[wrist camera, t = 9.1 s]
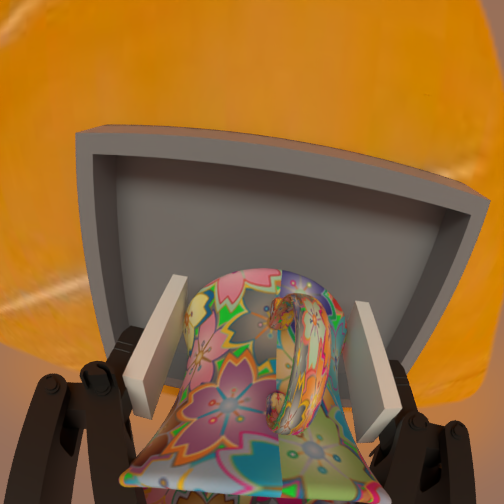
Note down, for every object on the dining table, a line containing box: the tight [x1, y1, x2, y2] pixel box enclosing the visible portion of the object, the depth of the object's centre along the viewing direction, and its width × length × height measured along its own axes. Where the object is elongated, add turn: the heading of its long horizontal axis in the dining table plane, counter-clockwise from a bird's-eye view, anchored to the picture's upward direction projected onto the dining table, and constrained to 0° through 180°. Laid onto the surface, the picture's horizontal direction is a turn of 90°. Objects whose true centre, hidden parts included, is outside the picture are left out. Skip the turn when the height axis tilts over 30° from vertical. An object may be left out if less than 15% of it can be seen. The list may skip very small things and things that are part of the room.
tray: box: [76, 125, 490, 407], centre depth 17 cm, size 20×16×3 cm
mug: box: [119, 268, 392, 504], centre depth 11 cm, size 12×9×11 cm
